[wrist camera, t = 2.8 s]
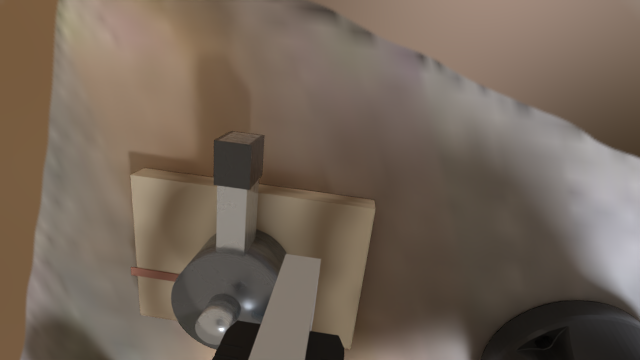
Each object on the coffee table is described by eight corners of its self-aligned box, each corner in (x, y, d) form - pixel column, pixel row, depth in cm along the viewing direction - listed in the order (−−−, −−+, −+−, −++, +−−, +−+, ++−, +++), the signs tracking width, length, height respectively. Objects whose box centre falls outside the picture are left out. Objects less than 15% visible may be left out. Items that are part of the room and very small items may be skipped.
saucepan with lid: (288, 314, 30) (268, 385, 24) (200, 300, 31) (156, 366, 24) (305, 137, 25) (287, 163, 18) (200, 123, 26) (144, 144, 19)
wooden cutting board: (374, 199, 29) (375, 209, 27) (350, 333, 33) (350, 349, 31) (139, 167, 30) (123, 174, 28) (147, 300, 34) (134, 314, 32)
